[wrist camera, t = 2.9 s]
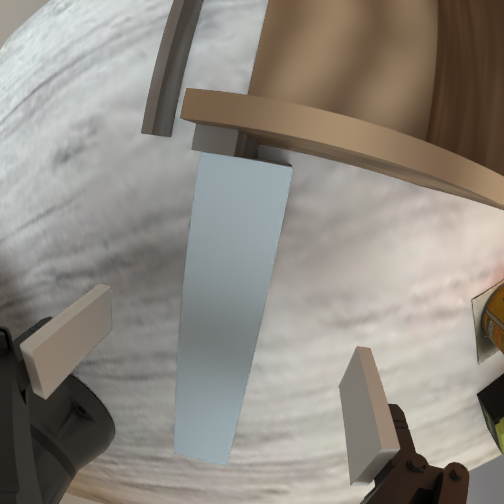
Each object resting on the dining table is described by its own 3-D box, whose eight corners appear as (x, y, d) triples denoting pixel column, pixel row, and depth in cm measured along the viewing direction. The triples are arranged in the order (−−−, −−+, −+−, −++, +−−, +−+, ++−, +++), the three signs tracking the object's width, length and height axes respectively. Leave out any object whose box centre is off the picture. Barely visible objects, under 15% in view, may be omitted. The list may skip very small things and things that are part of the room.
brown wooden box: (160, 142, 22) (39, 137, 9) (214, -57, 16) (169, -150, 4) (419, 199, 21) (532, 246, 8) (443, -8, 15) (516, -75, 3)
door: (196, 357, 27) (156, 447, 17) (225, 152, 22) (171, 148, 11) (247, 369, 27) (226, 466, 16) (290, 163, 21) (293, 167, 11)
